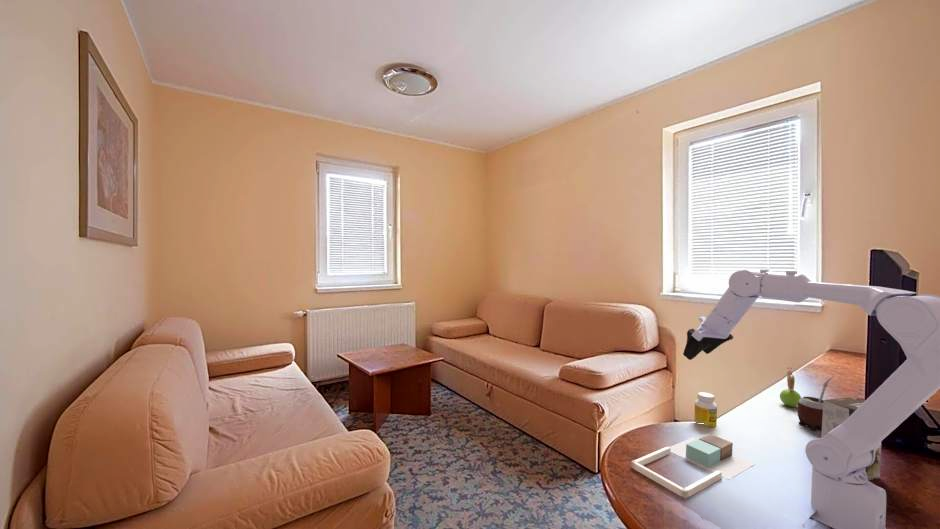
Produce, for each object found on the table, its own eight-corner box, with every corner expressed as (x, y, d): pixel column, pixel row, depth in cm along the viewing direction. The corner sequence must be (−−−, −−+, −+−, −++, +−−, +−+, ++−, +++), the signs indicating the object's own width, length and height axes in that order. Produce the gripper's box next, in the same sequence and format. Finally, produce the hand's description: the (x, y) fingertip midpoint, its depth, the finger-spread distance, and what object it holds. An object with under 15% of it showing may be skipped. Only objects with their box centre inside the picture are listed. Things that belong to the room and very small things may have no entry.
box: (721, 485, 79) (721, 472, 79) (685, 506, 72) (685, 491, 72) (666, 457, 89) (667, 446, 89) (630, 473, 82) (631, 461, 82)
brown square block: (732, 455, 88) (732, 442, 88) (721, 460, 85) (721, 448, 85) (709, 445, 92) (710, 433, 92) (698, 450, 90) (699, 438, 89)
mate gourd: (796, 427, 106) (798, 375, 106) (797, 418, 112) (799, 369, 112) (833, 436, 101) (835, 382, 101) (831, 426, 107) (833, 375, 107)
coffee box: (853, 484, 79) (856, 410, 79) (818, 468, 86) (821, 399, 85) (881, 478, 82) (885, 406, 81) (845, 462, 88) (848, 395, 88)
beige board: (755, 470, 84) (755, 464, 84) (728, 486, 78) (728, 479, 78) (692, 442, 96) (692, 437, 96) (664, 455, 90) (664, 448, 90)
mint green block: (720, 461, 85) (720, 448, 85) (708, 467, 82) (708, 454, 82) (697, 451, 89) (698, 439, 89) (685, 456, 87) (686, 444, 87)
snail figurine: (798, 404, 123) (800, 368, 123) (803, 410, 118) (804, 373, 117) (777, 400, 126) (779, 365, 126) (781, 407, 121) (782, 370, 120)
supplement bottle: (699, 422, 109) (700, 389, 108) (719, 429, 104) (721, 395, 104) (690, 426, 106) (691, 393, 105) (710, 434, 101) (712, 399, 101)
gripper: (727, 299, 94) (698, 338, 101) (694, 307, 87) (665, 348, 94) (754, 317, 89) (722, 357, 96) (722, 327, 82) (689, 369, 89)
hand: (695, 354), depth 94 cm, fingers open, 7 cm apart
